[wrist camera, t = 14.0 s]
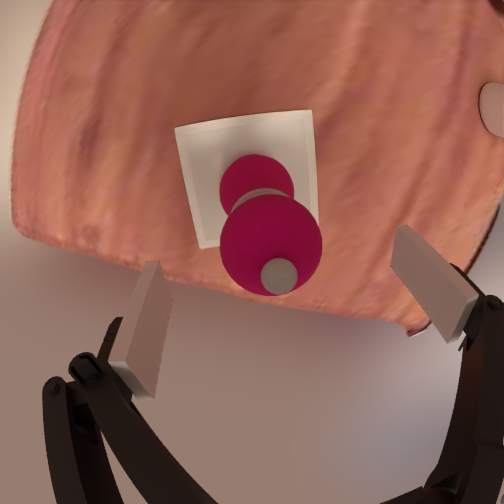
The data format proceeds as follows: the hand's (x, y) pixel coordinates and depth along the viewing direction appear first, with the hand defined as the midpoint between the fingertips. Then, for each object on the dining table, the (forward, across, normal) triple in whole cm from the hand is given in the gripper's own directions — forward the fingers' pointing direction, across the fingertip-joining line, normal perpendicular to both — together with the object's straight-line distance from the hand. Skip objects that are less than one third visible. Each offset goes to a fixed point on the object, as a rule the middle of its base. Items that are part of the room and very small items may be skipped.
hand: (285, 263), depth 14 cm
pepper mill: (+18, 0, -1) cm, 18 cm away
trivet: (+19, 0, -1) cm, 19 cm away
